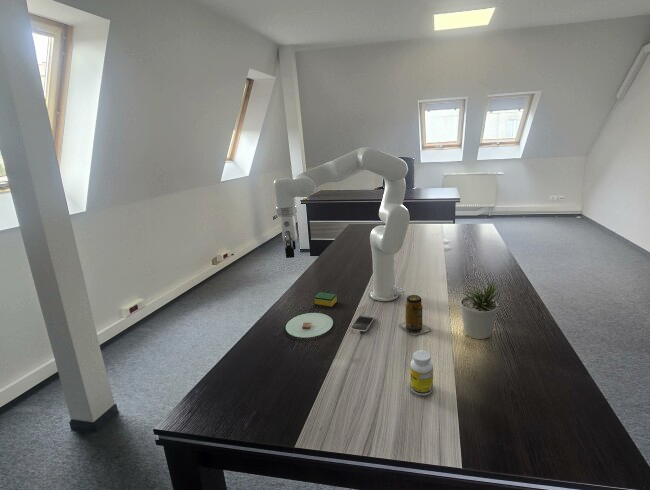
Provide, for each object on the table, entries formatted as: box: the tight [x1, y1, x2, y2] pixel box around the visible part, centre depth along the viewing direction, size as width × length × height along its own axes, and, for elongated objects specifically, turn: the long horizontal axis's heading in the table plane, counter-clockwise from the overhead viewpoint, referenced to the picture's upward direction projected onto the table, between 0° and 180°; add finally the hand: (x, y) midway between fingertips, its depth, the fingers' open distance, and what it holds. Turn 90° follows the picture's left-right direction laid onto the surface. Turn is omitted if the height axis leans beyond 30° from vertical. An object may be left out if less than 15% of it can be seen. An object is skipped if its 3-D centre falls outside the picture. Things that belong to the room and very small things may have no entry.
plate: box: [285, 312, 334, 338], centre depth 137 cm, size 18×18×1 cm
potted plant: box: [459, 281, 501, 340], centre depth 124 cm, size 13×14×20 cm
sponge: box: [313, 291, 338, 307], centre depth 153 cm, size 8×5×4 cm, turn 68°
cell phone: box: [350, 315, 375, 334], centre depth 136 cm, size 6×11×1 cm, turn 158°
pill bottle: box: [409, 349, 434, 396], centre depth 100 cm, size 6×6×11 cm
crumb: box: [302, 323, 311, 329], centre depth 135 cm, size 3×3×1 cm
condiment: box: [400, 294, 431, 337], centre depth 131 cm, size 7×8×12 cm
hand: (291, 253), depth 142 cm, fingers open, 9 cm apart
